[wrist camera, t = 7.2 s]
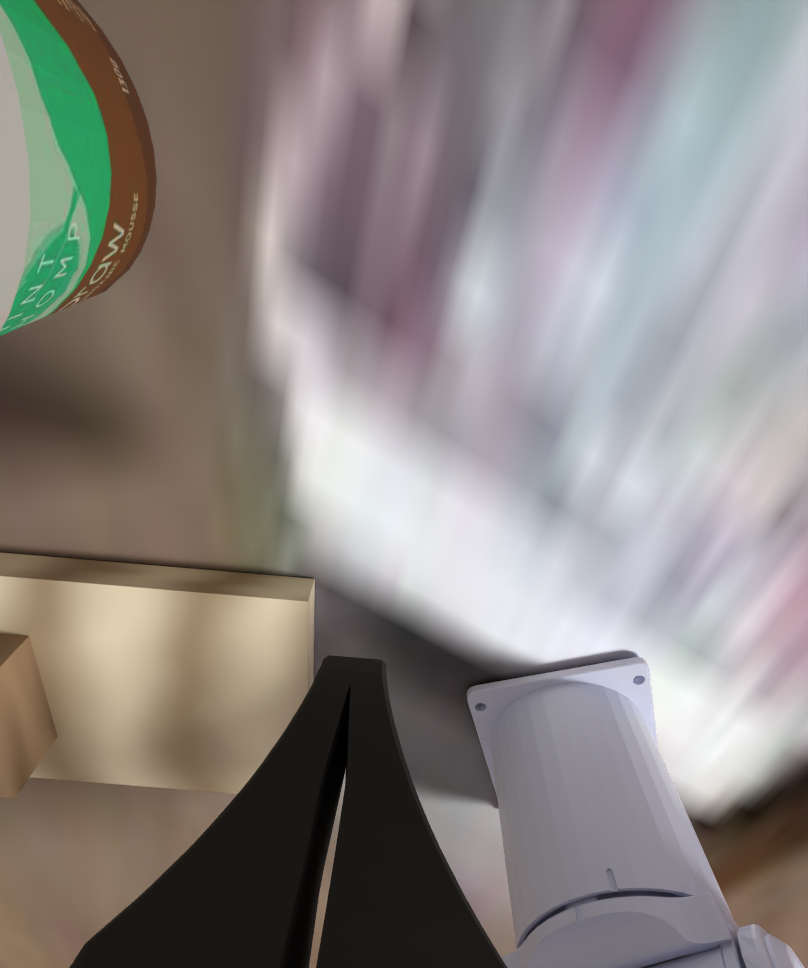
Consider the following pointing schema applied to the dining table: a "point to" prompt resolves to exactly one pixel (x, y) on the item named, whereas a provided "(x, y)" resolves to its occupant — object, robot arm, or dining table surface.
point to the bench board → (161, 667)
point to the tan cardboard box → (21, 714)
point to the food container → (66, 161)
